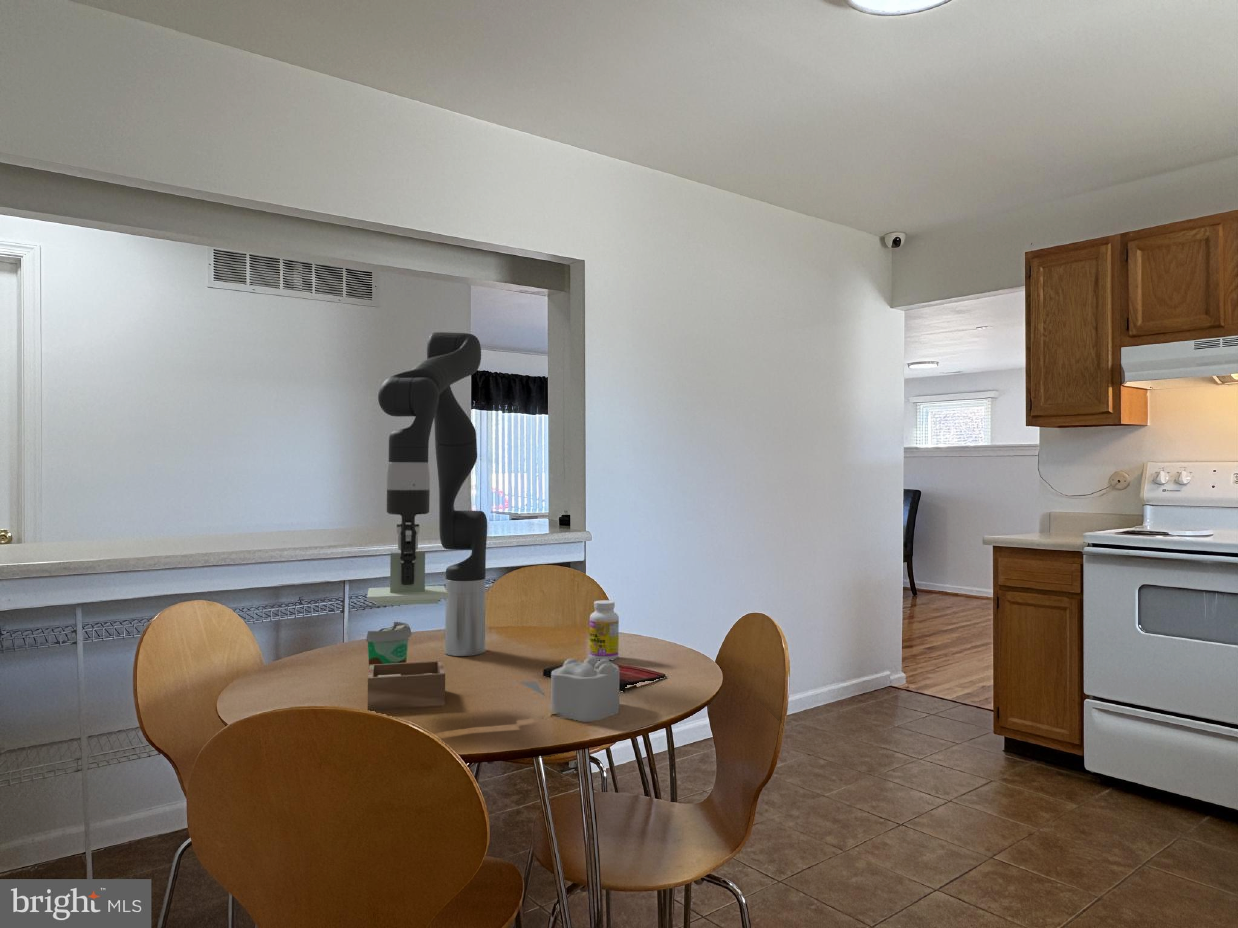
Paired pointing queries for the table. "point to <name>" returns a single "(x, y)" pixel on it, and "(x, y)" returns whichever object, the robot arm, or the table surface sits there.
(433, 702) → the box
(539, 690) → the mat
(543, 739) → the table surface
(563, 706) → the grey lumpy filled container
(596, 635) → the supplement bottle
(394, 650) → the food container
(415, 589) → the lid
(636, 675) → the binder
